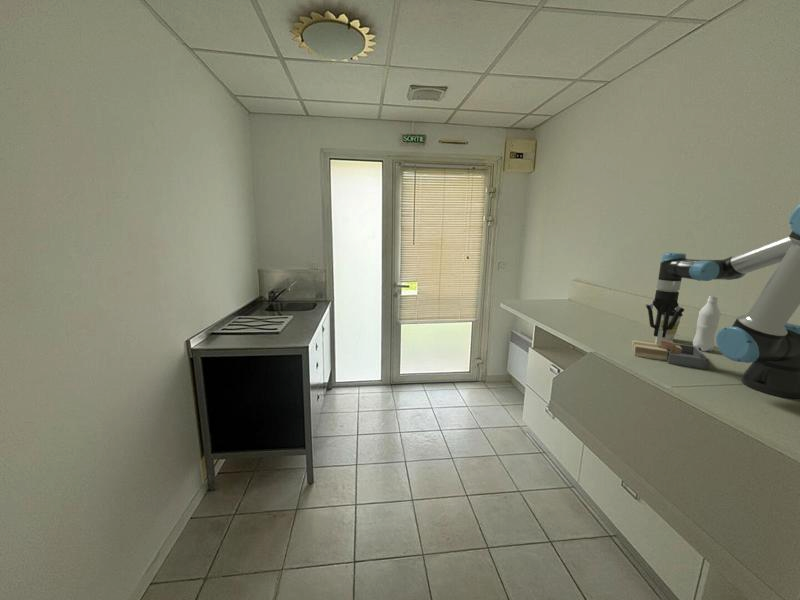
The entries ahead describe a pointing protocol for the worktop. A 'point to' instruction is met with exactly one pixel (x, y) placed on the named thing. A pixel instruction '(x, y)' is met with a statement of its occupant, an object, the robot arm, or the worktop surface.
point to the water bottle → (707, 325)
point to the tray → (688, 357)
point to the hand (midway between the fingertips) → (657, 343)
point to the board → (648, 350)
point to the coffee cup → (669, 333)
